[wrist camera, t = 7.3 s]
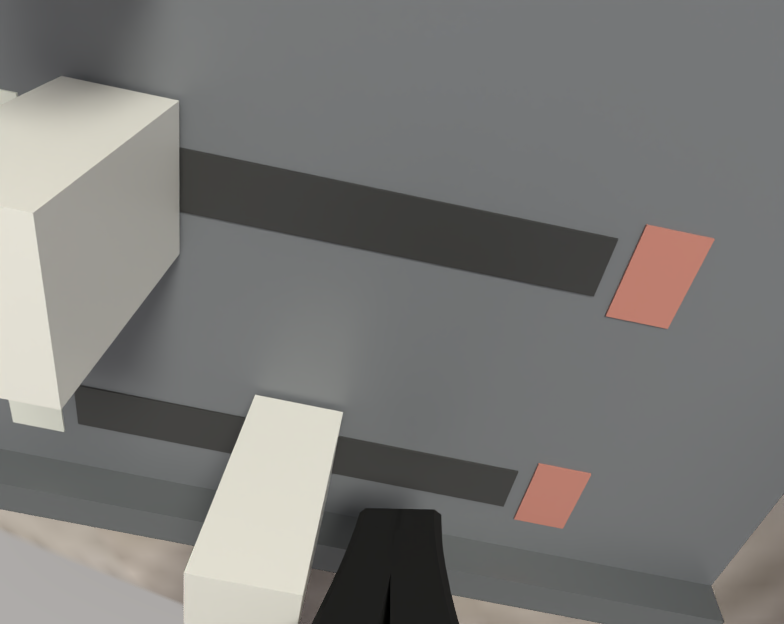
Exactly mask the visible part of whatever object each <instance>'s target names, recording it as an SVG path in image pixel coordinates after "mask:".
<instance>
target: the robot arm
mask: <svg viewBox="0 0 784 624" xmlns="http://www.w3.org/2000/svg"><path fill="white" fill-rule="evenodd" d="M312 624H459V622H458V619H457V615H456V611H455V607H454V603H453V599H452V595H451V590H450V585H449V580H448V575H447V570H446V565H445V558H444V552H443V543H442V520H441V514H440V513H439V512H437V511H436V510H434V509H389V508H365V509H364V510H363V511H361V512H360V513H359V517H358V520H357V523H356V526H355V529H354V531H353V534H352V537H351V539H350V542H349V545H348V547H347V550H346V552H345V554H344V557H343V559H342V561H341V564H340V566H339V568H338V570H337V573H336V575H335V577H334V579H333V582H332V584H331V586H330V588H329V590H328V592H327V594H326V596H325V598H324V600H323V602H322V604H321V606H320V608H319V610H318V612H317V614H316V616H315V618H314V620H313V622H312Z"/></svg>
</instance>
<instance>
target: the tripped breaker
mask: <svg viewBox="0 0 784 624" xmlns="http://www.w3.org/2000/svg"><path fill="white" fill-rule="evenodd" d="M342 415H343V412H340V411H335V410H330V409H325V408H320V407H315V406H310V405H305V404H300V403H295V402H290V401H285V400H280V399H275V398H270V397H265V396H259V395H255V396H254V399H253V401H252V404H251V406H250V409H249V411H248V414H247V416H246V419H245V421H244V424H243V426H242V429H241V431H240V434H239V436H238V439H237V441H236V444H235V446H234V449H233V451H232V454H231V456H230V459H229V461H228V464H227V466H226V469H225V471H224V474H223V476H222V479H221V481H220V484H219V486H218V489H217V491H216V494H215V496H214V499H213V501H212V504H211V506H210V509H209V511H208V514H207V516H206V519H205V521H204V524H203V526H202V529H201V531H200V534H199V536H198V539H197V541H196V544H195V546H194V549H193V551H192V554H191V556H190V559H189V561H188V564H187V566H186V569H185V571H184V624H300V619H301V615H302V610H303V605H304V601H305V596H306V592H307V587H308V582H309V578H310V573H311V568H312V564H313V559H314V554H315V550H316V545H317V541H318V536H319V531H320V527H321V522H322V517H323V513H324V508H325V504H326V499H327V494H328V488H329V483H330V478H331V473H332V468H333V462H334V457H335V452H336V447H337V442H338V436H339V431H340V426H341V421H342Z"/></svg>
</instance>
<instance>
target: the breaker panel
mask: <svg viewBox="0 0 784 624" xmlns="http://www.w3.org/2000/svg"><path fill="white" fill-rule="evenodd" d="M60 76H65V77H69V78H74V79H79V80H84V81H88V82H93V83H98V84H103V85H107V86H112V87H117V88H122V89H126V90H131V91H136V92H141V93H146V94H150V95H155V96H160V97H165V98H169V99H174V100H179V236H180V254H179V255H178V257H177V258H176V259H175V260H174V262H173V263H172V264H171V266H170V267H169V268H168V270H167V271H166V272H165V274H164V275H163V276H162V278H161V279H160V280H159V282H158V283H157V284H156V286H155V287H154V288H153V289H152V291H151V292H150V293H149V295H148V296H147V297H146V299H145V300H144V301H143V303H142V304H141V305H140V307H139V308H138V309H137V311H136V312H135V313H134V314H133V316H132V317H131V318H130V320H129V321H128V322H127V324H126V325H125V326H124V328H123V329H122V330H121V332H120V333H119V334H118V336H117V337H116V338H115V340H114V341H113V342H112V343H111V345H110V346H109V347H108V349H107V350H106V351H105V353H104V354H103V355H102V357H101V358H100V359H99V361H98V362H97V363H96V365H95V366H94V367H93V369H92V370H91V371H90V372H89V374H88V375H87V376H86V378H85V379H84V380H83V382H82V383H81V384H80V386H79V387H78V388H77V390H76V391H75V392H74V394H73V395H72V396H71V397H70V399H69V400H68V401H67V403H66V404H65V405H64V407H63V408H62V409H61V410H58V409H53V408H48V407H43V406H37V405H32V404H27V403H22V402H17V401H12V400H7V399H2V398H0V509H3V510H8V511H13V512H18V513H24V514H29V515H34V516H39V517H45V518H50V519H55V520H60V521H66V522H71V523H76V524H82V525H87V526H92V527H97V528H103V529H108V530H113V531H118V532H124V533H129V534H134V535H139V536H145V537H150V538H155V539H160V540H166V541H171V542H176V543H182V544H187V545H192V546H195V544H196V541H197V539H198V536H199V534H200V531H201V529H202V526H203V524H204V521H205V519H206V516H207V514H208V511H209V509H210V506H211V504H212V501H213V499H214V496H215V494H216V491H217V489H218V486H219V484H220V481H221V479H222V476H223V474H224V471H225V469H226V466H227V464H228V461H229V459H230V456H231V454H232V451H233V449H234V446H235V444H236V441H237V439H238V436H239V434H240V431H241V429H242V426H243V424H244V421H245V419H246V416H247V414H248V411H249V409H250V406H251V404H252V401H253V399H254V396H255V395H259V396H265V397H270V398H275V399H280V400H285V401H290V402H295V403H300V404H305V405H310V406H315V407H320V408H325V409H330V410H335V411H340V412H343V415H342V421H341V426H340V431H339V436H338V442H337V447H336V452H335V457H334V462H333V468H332V473H331V478H330V483H329V488H328V494H327V499H326V504H325V508H324V513H323V517H322V522H321V527H320V531H319V536H318V541H317V545H316V550H315V554H314V559H313V564H312V568H313V569H318V570H324V571H329V572H334V573H337V570H338V568H339V566H340V564H341V561H342V559H343V557H344V554H345V552H346V550H347V547H348V545H349V542H350V539H351V537H352V534H353V531H354V529H355V526H356V523H357V520H358V517H359V513H360V512H361V511H363V510H364V509H365V508H389V509H434V510H436V511H437V512H439V513H440V514H441V520H442V543H443V552H444V558H445V565H446V570H447V575H448V580H449V585H450V590H451V595H455V596H461V597H466V598H471V599H476V600H482V601H487V602H492V603H497V604H503V605H508V606H513V607H518V608H524V609H529V610H534V611H539V612H545V613H550V614H555V615H561V616H566V617H571V618H576V619H582V620H587V621H592V622H597V623H603V624H723V623H724V620H723V618H722V615H721V612H720V609H719V606H718V604H717V601H716V598H715V595H714V593H713V590H712V587H711V585H712V584H713V583H714V581H715V580H716V579H717V578H718V576H719V575H720V574H721V572H722V571H723V570H724V569H725V567H726V566H727V565H728V564H729V562H730V561H731V560H732V559H733V557H734V556H735V555H736V553H737V552H738V551H739V550H740V548H741V547H742V546H743V545H744V543H745V542H746V541H747V540H748V538H749V537H750V536H751V534H752V533H753V532H754V531H755V529H756V528H757V527H758V526H759V524H760V523H761V522H762V521H763V519H764V518H765V517H766V515H767V514H768V513H769V512H770V510H771V509H772V508H773V507H774V505H775V504H776V503H777V502H778V500H779V499H780V498H781V497H782V495H783V494H784V0H0V105H1V104H3V103H5V102H8V101H10V100H12V99H14V98H16V97H18V96H20V95H22V94H24V93H26V92H29V91H31V90H33V89H35V88H37V87H39V86H41V85H43V84H45V83H47V82H49V81H52V80H54V79H56V78H58V77H60Z"/></svg>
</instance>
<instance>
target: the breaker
mask: <svg viewBox="0 0 784 624" xmlns="http://www.w3.org/2000/svg"><path fill="white" fill-rule="evenodd" d="M179 254H180V236H179V100H174V99H169V98H165V97H160V96H155V95H150V94H146V93H141V92H136V91H131V90H126V89H122V88H117V87H112V86H107V85H103V84H98V83H93V82H88V81H84V80H79V79H74V78H69V77H65V76H60V77H58V78H56V79H54V80H52V81H49V82H47V83H45V84H43V85H41V86H39V87H37V88H35V89H33V90H31V91H29V92H26V93H24V94H22V95H20V96H18V97H16V98H14V99H12V100H10V101H8V102H5V103H3V104H1V105H0V398H2V399H7V400H12V401H17V402H22V403H27V404H32V405H37V406H43V407H48V408H53V409H58V410H61V409H62V408H63V407H64V405H65V404H66V403H67V401H68V400H69V399H70V397H71V396H72V395H73V394H74V392H75V391H76V390H77V388H78V387H79V386H80V384H81V383H82V382H83V380H84V379H85V378H86V376H87V375H88V374H89V372H90V371H91V370H92V369H93V367H94V366H95V365H96V363H97V362H98V361H99V359H100V358H101V357H102V355H103V354H104V353H105V351H106V350H107V349H108V347H109V346H110V345H111V343H112V342H113V341H114V340H115V338H116V337H117V336H118V334H119V333H120V332H121V330H122V329H123V328H124V326H125V325H126V324H127V322H128V321H129V320H130V318H131V317H132V316H133V314H134V313H135V312H136V311H137V309H138V308H139V307H140V305H141V304H142V303H143V301H144V300H145V299H146V297H147V296H148V295H149V293H150V292H151V291H152V289H153V288H154V287H155V286H156V284H157V283H158V282H159V280H160V279H161V278H162V276H163V275H164V274H165V272H166V271H167V270H168V268H169V267H170V266H171V264H172V263H173V262H174V260H175V259H176V258H177V257H178V255H179Z"/></svg>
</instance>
